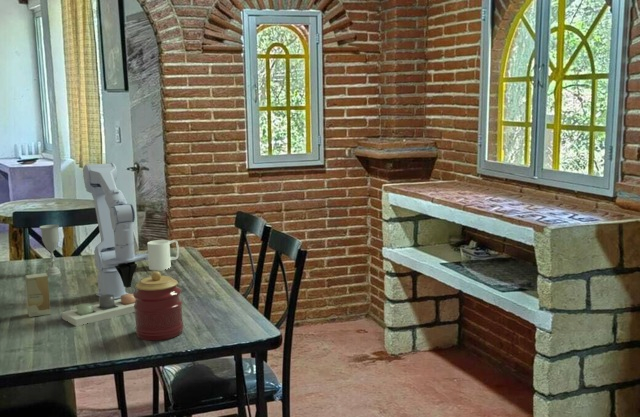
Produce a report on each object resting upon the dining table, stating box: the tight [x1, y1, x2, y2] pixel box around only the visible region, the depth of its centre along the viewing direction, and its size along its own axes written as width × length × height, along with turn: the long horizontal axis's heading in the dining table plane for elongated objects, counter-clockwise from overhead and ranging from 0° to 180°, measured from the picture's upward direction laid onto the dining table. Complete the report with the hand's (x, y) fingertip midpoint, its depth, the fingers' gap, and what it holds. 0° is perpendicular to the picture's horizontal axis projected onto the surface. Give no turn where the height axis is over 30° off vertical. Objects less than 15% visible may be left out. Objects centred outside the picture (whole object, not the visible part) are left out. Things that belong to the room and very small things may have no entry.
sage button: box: [76, 302, 93, 316], centre depth 211 cm, size 4×4×3 cm
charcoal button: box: [98, 294, 115, 309], centre depth 215 cm, size 4×4×3 cm
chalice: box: [39, 224, 61, 276], centre depth 265 cm, size 7×7×18 cm
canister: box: [132, 270, 184, 341], centre depth 195 cm, size 13×13×18 cm
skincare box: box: [25, 272, 51, 318], centre depth 216 cm, size 6×4×12 cm
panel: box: [61, 298, 135, 327], centre depth 216 cm, size 10×24×2 cm, turn 132°
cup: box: [147, 239, 180, 272], centre depth 271 cm, size 8×12×10 cm
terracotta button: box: [120, 293, 135, 305], centre depth 220 cm, size 4×4×3 cm
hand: (127, 286), depth 220 cm, fingers closed
